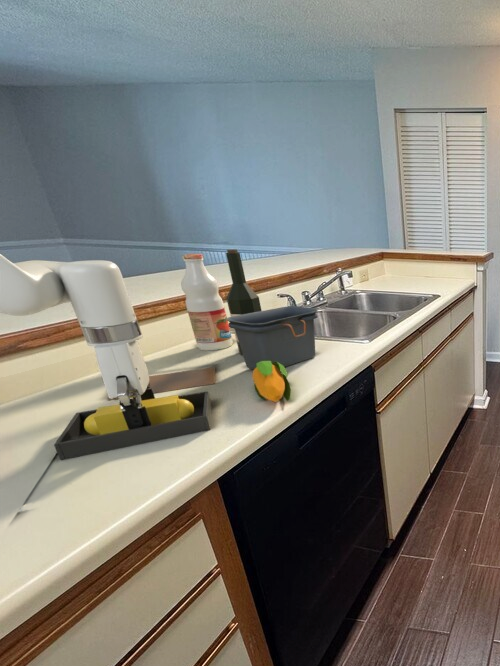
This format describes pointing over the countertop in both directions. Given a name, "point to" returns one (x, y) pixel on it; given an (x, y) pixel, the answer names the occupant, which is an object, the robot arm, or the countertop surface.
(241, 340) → the storage bin
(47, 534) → the countertop surface
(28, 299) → the robot arm
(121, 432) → the tray
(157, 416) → the yellow rounded-end bar
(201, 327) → the fruit juice
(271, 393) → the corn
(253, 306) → the wine bottle
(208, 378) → the board
